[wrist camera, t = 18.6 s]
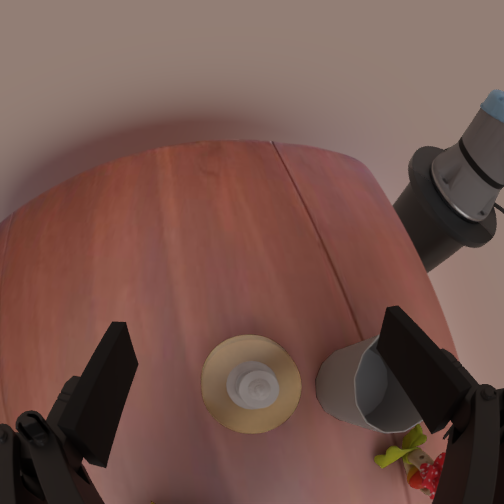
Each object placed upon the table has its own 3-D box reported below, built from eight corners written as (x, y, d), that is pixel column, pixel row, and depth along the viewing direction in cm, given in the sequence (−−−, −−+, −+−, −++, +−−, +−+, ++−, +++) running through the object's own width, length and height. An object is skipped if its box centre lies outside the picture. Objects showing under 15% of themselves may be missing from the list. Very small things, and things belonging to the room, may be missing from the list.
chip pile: (314, 371, 26) (322, 370, 23) (260, 443, 22) (262, 451, 20) (239, 320, 28) (239, 313, 25) (183, 389, 25) (176, 391, 22)
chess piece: (227, 360, 23) (220, 349, 14) (276, 361, 24) (300, 351, 15) (225, 407, 21) (218, 426, 12) (275, 408, 22) (299, 426, 13)
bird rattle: (418, 449, 23) (409, 409, 22) (477, 481, 12) (484, 442, 12) (381, 481, 21) (366, 446, 21) (437, 523, 11) (437, 496, 10)
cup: (332, 335, 28) (374, 312, 19) (394, 357, 27) (450, 343, 18) (303, 408, 24) (336, 421, 15) (369, 427, 23) (423, 440, 14)
